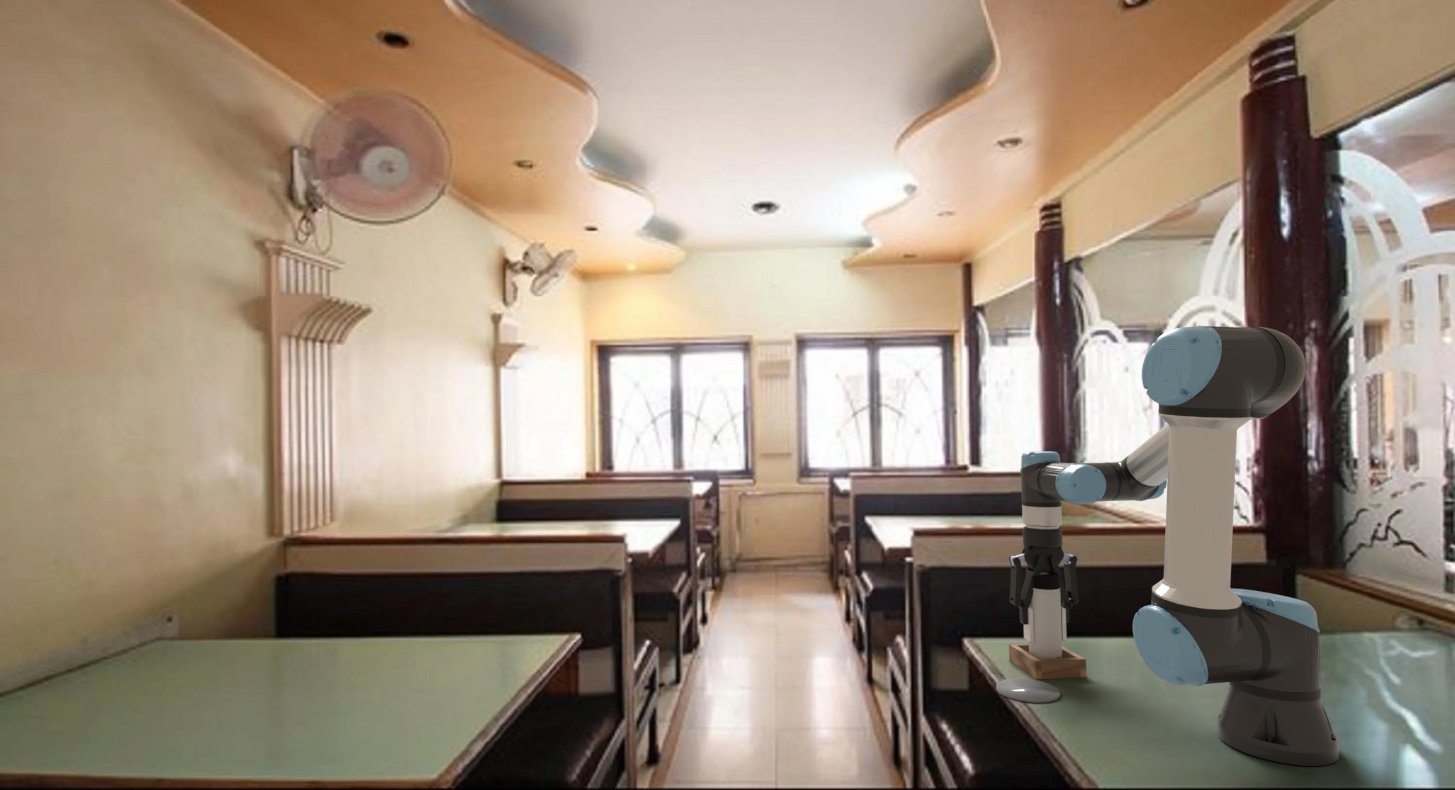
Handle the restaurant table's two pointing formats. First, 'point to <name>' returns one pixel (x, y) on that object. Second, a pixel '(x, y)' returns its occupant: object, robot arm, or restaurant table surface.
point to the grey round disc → (1028, 690)
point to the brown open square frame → (1048, 663)
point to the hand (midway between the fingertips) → (1045, 639)
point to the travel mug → (1046, 617)
